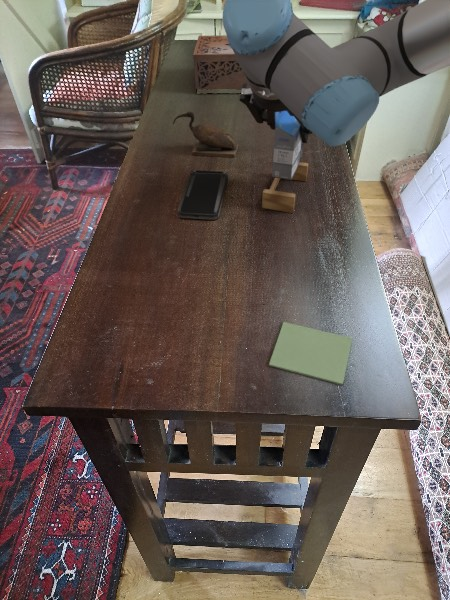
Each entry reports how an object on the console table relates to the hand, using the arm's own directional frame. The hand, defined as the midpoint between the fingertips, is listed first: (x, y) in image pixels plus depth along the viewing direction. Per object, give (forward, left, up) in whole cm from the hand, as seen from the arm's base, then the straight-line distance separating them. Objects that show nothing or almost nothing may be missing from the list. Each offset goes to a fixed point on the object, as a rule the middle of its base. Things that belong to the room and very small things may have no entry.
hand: (294, 134), depth 85 cm
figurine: (+21, -7, -11) cm, 25 cm away
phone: (+15, +10, -10) cm, 21 cm away
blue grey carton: (0, +4, -5) cm, 6 cm away
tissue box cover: (+24, -45, -11) cm, 52 cm away
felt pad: (-13, +41, -10) cm, 44 cm away
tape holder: (0, +4, -10) cm, 11 cm away
